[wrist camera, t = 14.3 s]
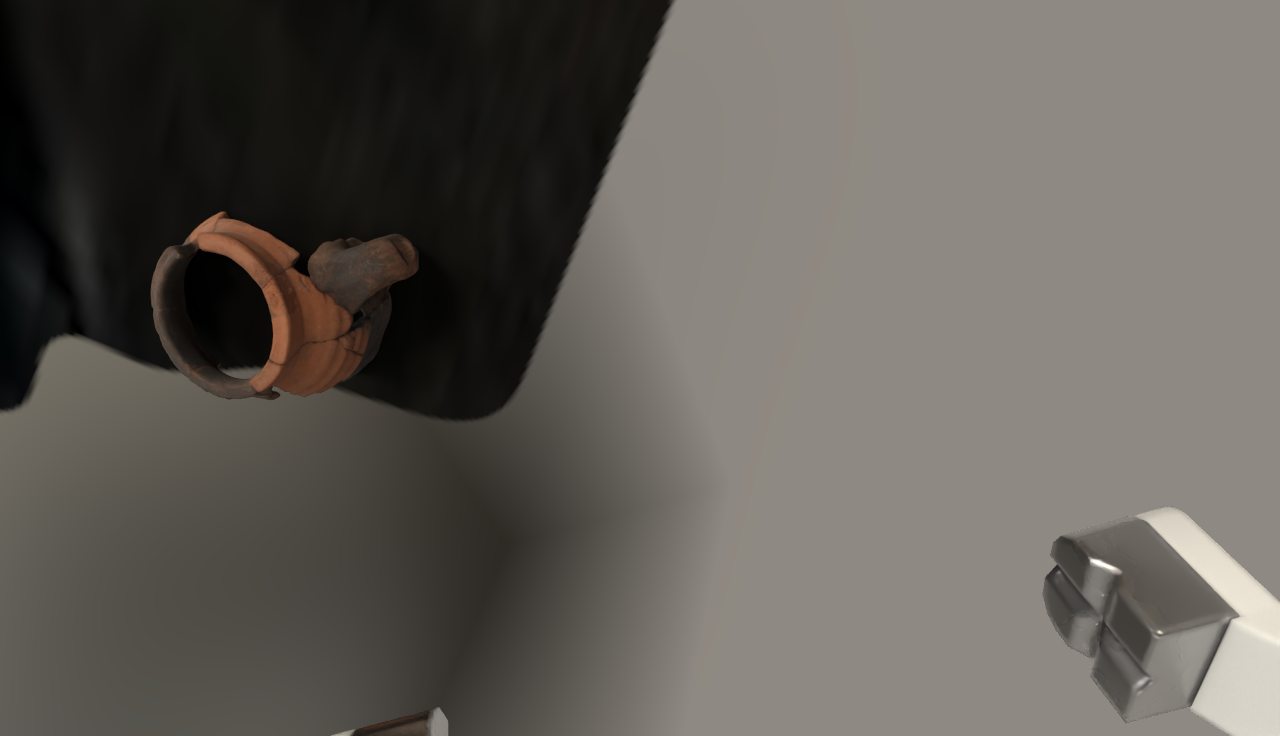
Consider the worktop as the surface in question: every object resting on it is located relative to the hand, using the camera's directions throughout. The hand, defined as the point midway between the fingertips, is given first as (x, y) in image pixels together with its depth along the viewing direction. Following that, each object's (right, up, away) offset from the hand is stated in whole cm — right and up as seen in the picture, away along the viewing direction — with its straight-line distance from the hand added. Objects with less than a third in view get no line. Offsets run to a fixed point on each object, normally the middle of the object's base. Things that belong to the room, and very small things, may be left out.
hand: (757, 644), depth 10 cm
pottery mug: (-18, +8, +29) cm, 35 cm away
